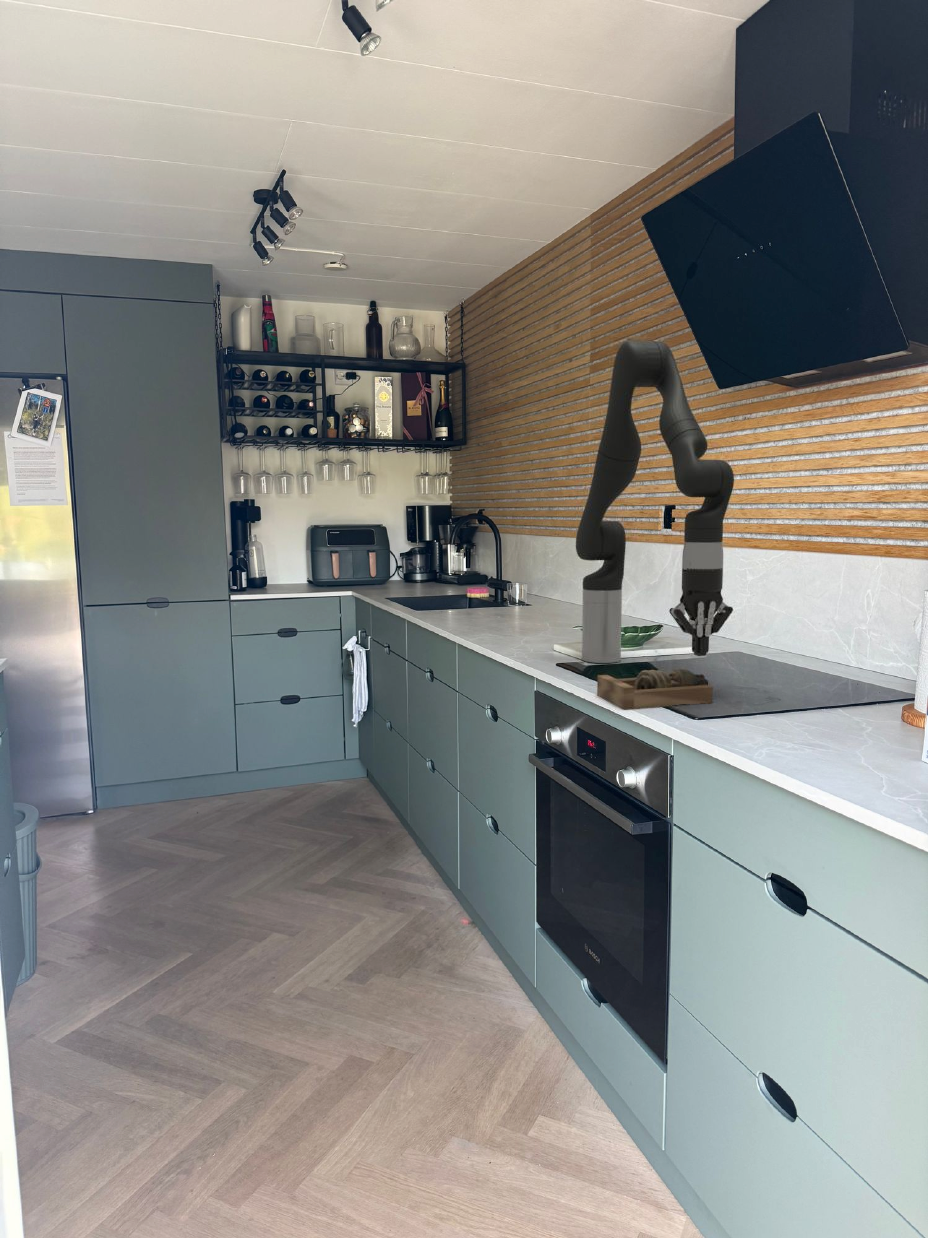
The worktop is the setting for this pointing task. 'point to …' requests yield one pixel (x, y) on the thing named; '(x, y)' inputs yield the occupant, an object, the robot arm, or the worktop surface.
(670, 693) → the tray
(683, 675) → the light bulb
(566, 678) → the worktop surface
